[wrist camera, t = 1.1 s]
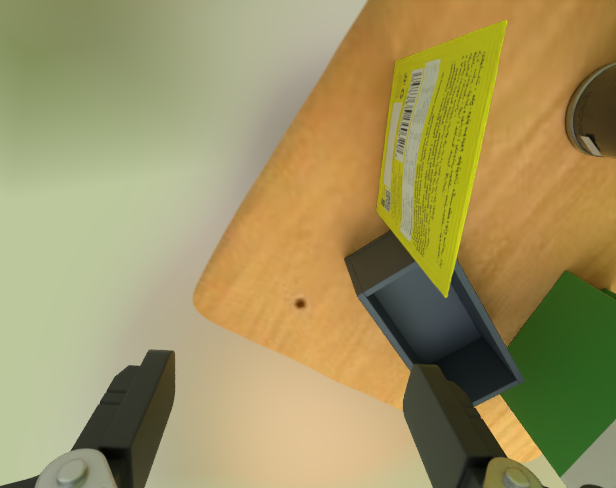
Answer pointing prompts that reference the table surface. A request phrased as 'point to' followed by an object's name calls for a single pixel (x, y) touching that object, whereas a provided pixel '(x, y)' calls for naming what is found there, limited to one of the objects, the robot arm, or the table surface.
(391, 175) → the food package
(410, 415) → the robot arm
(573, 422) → the hardback book
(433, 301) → the waste bin
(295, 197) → the table surface
